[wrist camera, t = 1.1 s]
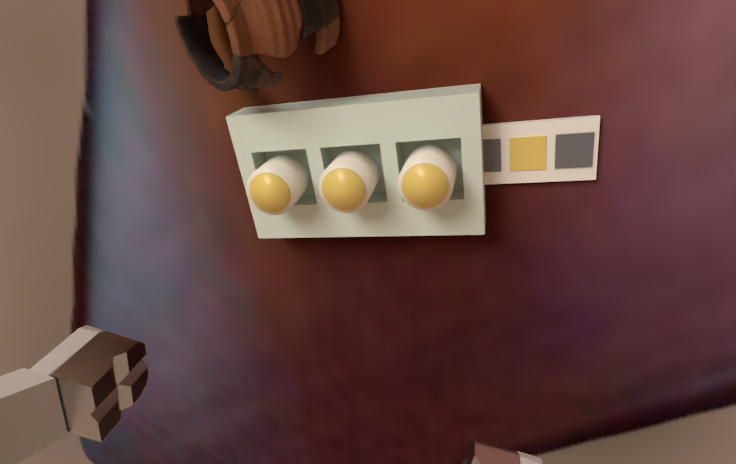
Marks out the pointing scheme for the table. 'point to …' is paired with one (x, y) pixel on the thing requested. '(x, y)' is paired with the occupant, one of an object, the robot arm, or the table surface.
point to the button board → (383, 143)
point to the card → (541, 150)
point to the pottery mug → (255, 37)
